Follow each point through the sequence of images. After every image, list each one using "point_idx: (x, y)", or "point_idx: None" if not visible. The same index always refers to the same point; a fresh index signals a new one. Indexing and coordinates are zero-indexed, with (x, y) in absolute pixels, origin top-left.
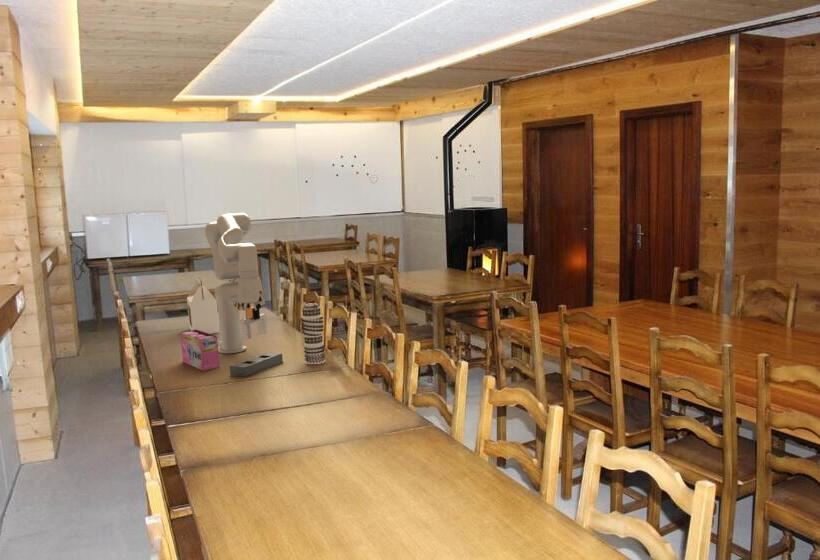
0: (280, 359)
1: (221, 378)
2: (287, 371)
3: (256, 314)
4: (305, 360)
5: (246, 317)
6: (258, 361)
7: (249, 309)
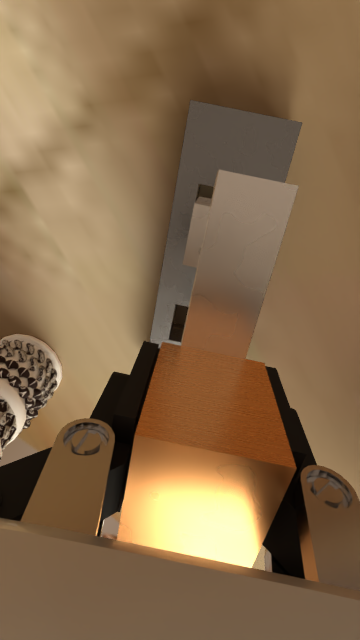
0: None
1: (318, 69)
2: (54, 235)
3: (116, 393)
4: (41, 351)
5: (275, 378)
6: (178, 237)
7: (204, 430)
